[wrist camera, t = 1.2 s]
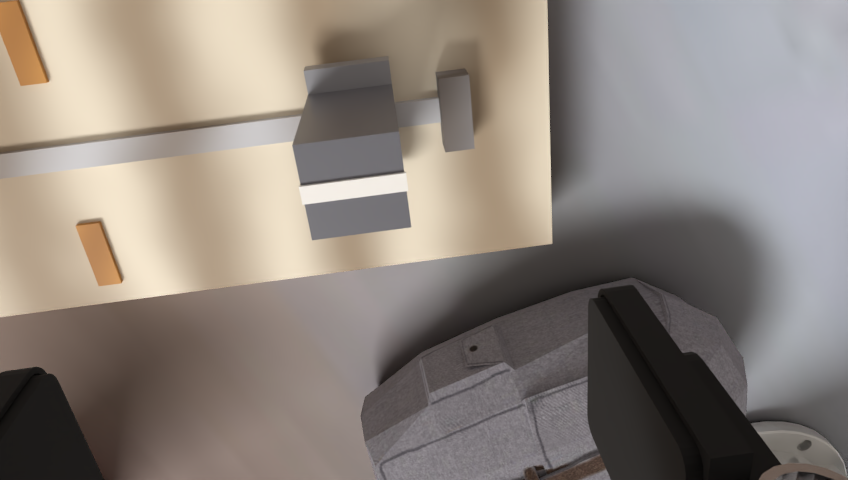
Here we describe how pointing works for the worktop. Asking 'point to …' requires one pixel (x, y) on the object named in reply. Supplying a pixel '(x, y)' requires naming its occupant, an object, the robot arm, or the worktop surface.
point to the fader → (351, 151)
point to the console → (251, 140)
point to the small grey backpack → (519, 394)
